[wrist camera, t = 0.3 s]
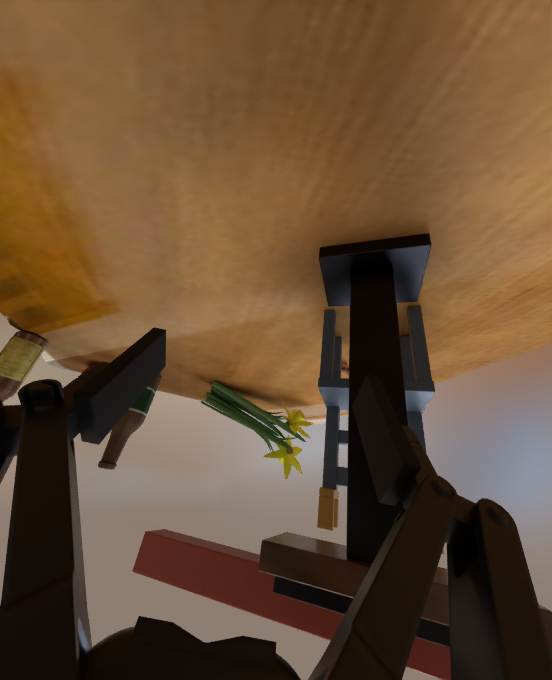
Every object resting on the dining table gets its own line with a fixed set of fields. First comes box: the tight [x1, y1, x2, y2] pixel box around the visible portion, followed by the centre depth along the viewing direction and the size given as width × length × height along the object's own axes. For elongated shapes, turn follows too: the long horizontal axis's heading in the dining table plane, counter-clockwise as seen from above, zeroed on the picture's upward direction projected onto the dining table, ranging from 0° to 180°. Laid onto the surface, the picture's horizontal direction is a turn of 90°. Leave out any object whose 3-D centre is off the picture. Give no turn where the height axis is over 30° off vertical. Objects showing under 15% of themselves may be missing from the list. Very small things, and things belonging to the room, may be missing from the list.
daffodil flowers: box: [201, 381, 313, 479], centre depth 72 cm, size 17×15×35 cm
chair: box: [317, 306, 444, 555], centre depth 32 cm, size 12×11×25 cm
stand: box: [258, 234, 552, 652], centre depth 22 cm, size 14×8×27 cm, turn 107°
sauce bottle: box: [0, 331, 47, 402], centre depth 57 cm, size 7×6×20 cm
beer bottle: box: [98, 374, 161, 470], centre depth 65 cm, size 8×8×24 cm
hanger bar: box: [133, 529, 451, 680], centre depth 16 cm, size 24×3×3 cm, turn 107°
